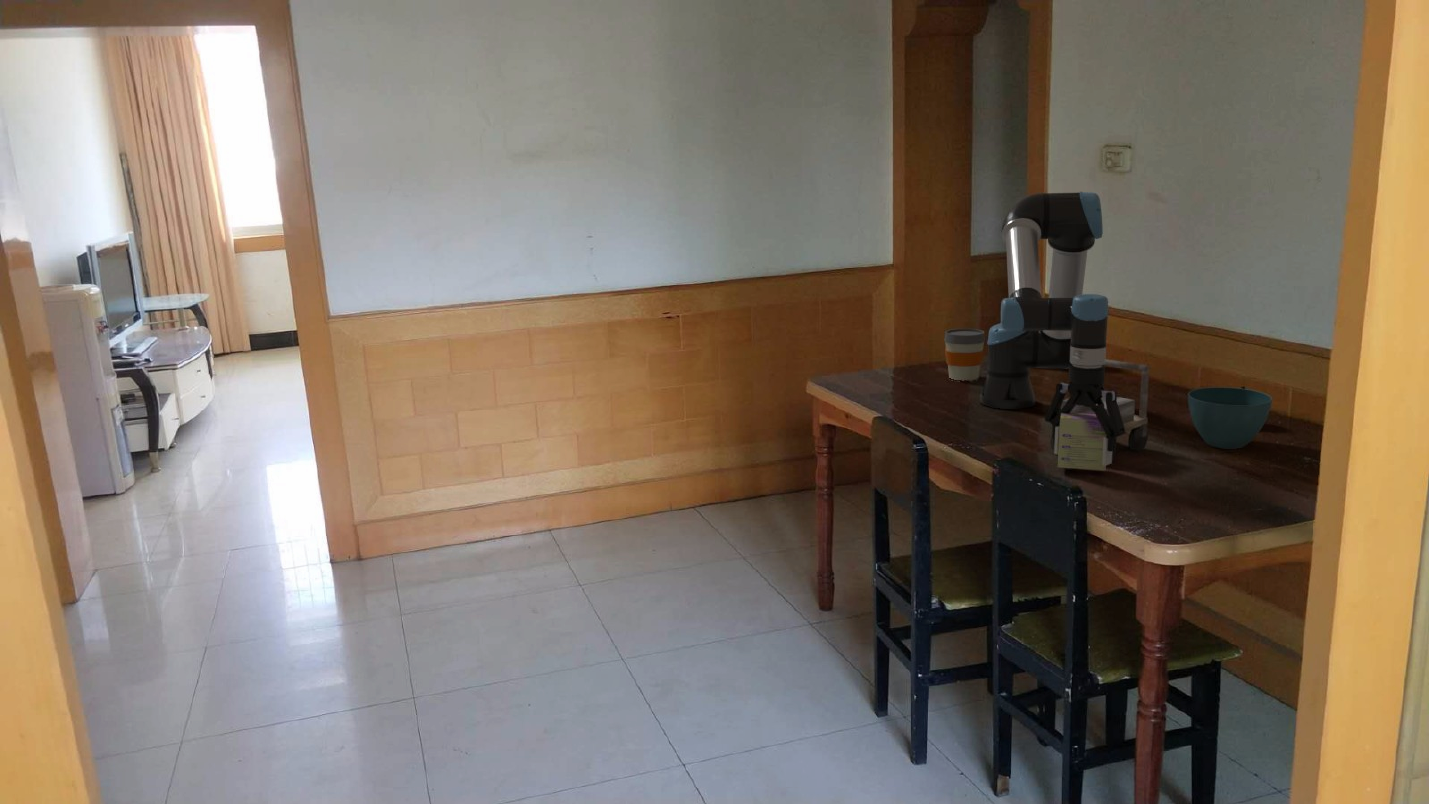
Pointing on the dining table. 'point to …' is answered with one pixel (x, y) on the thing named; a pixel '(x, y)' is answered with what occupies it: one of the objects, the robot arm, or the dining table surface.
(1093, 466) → the box
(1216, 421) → the teal bowl
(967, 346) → the reusable coffee cup
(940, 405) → the dining table surface
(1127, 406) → the trolley
